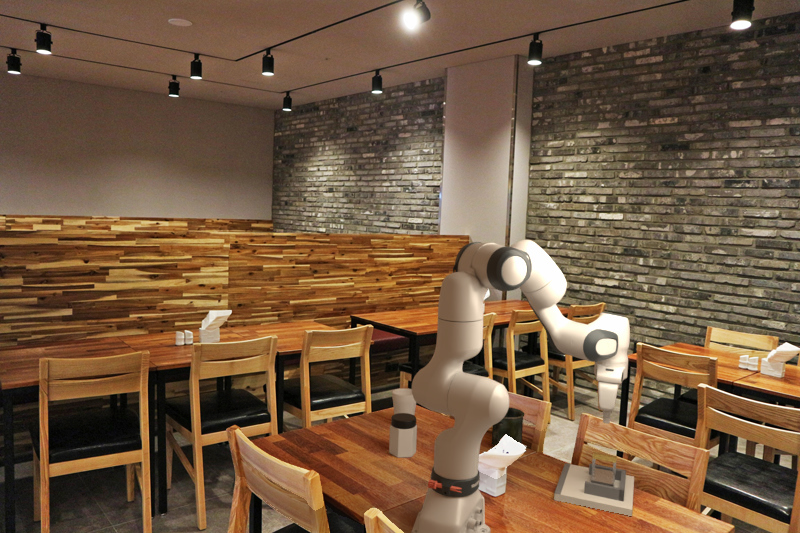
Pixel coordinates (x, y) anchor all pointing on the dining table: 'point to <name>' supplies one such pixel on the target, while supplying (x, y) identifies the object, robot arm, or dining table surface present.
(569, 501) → the dock
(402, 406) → the foam cup
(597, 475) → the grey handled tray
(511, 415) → the mug
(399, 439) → the jar
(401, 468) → the dining table surface
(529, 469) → the dining table surface
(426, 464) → the dining table surface
